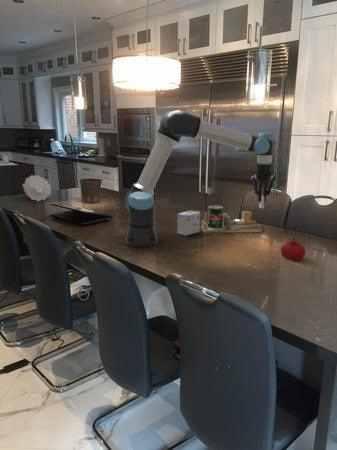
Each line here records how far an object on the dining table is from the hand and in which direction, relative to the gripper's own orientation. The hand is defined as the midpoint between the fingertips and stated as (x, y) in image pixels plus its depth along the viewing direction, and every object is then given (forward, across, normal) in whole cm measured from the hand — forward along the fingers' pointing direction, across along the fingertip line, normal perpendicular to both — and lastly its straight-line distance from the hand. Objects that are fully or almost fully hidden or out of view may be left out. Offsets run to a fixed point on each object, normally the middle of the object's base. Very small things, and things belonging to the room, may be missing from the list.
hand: (261, 207), depth 198 cm
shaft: (+10, +10, 0) cm, 14 cm away
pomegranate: (+12, +2, +46) cm, 48 cm away
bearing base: (+12, +16, 0) cm, 20 cm away
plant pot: (+11, +98, -82) cm, 128 cm away
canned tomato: (+10, +25, 0) cm, 27 cm away
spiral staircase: (+11, +139, -94) cm, 168 cm away
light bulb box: (+12, +40, +4) cm, 42 cm away
